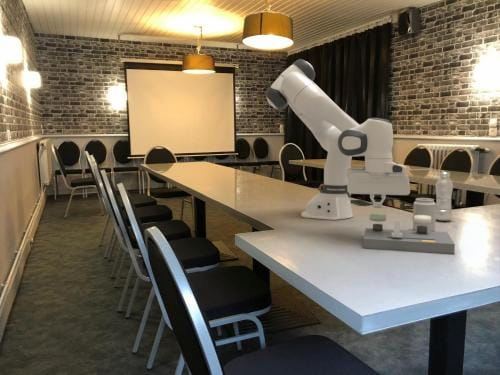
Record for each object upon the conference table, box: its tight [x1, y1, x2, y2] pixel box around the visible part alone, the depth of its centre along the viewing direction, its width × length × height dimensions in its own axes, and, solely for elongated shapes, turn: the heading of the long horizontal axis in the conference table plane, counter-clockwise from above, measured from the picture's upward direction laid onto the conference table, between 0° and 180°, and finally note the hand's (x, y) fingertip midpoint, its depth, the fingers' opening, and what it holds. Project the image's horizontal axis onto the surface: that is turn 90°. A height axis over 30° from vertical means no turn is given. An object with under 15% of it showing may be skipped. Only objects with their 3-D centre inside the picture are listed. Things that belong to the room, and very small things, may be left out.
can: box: [412, 197, 436, 232], centre depth 152 cm, size 8×8×12 cm
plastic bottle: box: [434, 171, 454, 222], centre depth 168 cm, size 6×7×20 cm
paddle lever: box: [392, 218, 403, 238], centre depth 130 cm, size 3×4×5 cm
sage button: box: [369, 212, 387, 222], centre depth 140 cm, size 5×5×2 cm
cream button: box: [414, 215, 431, 223], centre depth 136 cm, size 5×5×2 cm
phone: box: [350, 199, 373, 207], centre depth 216 cm, size 8×1×15 cm
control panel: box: [362, 223, 456, 255], centre depth 134 cm, size 26×16×5 cm, turn 72°
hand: (377, 207), depth 140 cm, fingers closed
